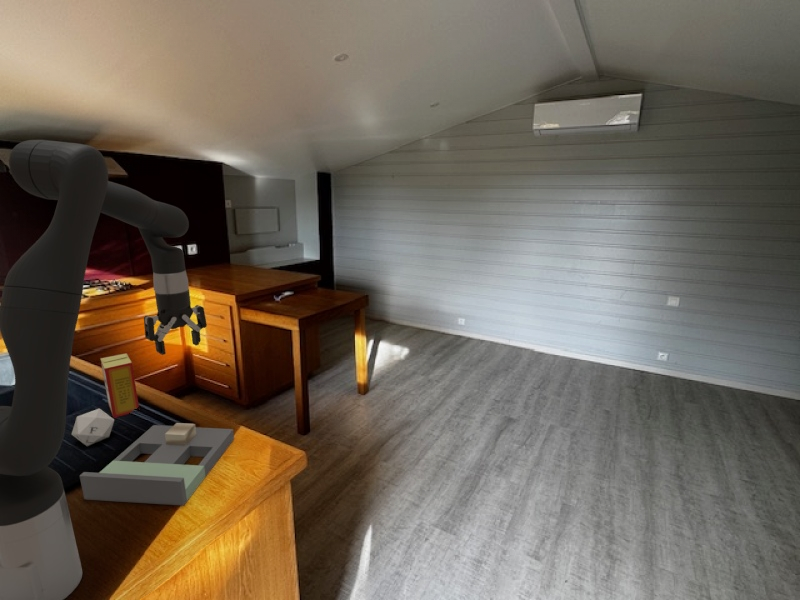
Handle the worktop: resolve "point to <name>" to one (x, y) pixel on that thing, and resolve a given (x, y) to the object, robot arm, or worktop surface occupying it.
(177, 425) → the birch block
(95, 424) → the die
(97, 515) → the worktop surface
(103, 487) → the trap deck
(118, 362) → the baking soda box
